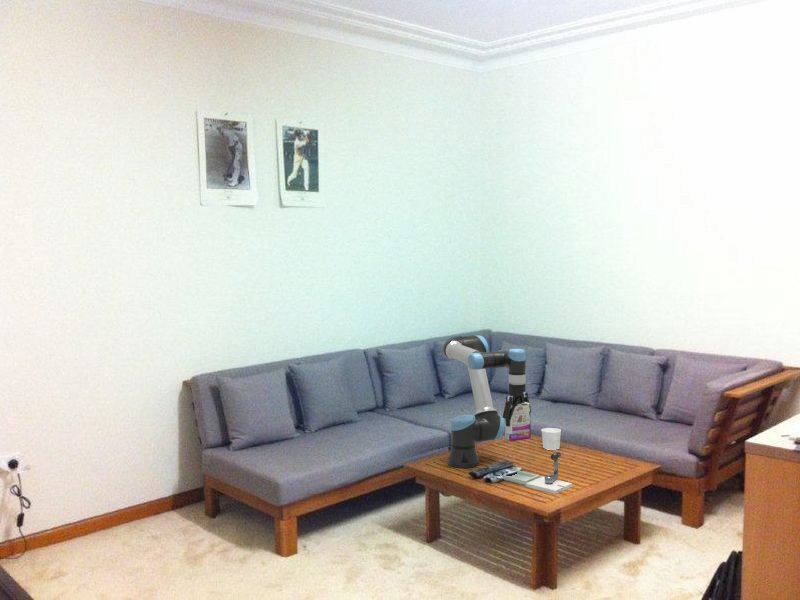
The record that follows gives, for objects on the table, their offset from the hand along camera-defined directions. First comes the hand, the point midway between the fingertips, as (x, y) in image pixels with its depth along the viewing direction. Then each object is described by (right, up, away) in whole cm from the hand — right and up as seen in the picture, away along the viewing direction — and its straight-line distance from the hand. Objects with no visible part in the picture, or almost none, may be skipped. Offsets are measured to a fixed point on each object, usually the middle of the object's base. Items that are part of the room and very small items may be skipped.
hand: (517, 430), depth 327 cm
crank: (+14, -20, -8) cm, 26 cm away
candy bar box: (0, -4, 0) cm, 4 cm away
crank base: (+12, -23, -11) cm, 28 cm away
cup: (+26, -19, +50) cm, 59 cm away
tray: (0, -22, +1) cm, 22 cm away
